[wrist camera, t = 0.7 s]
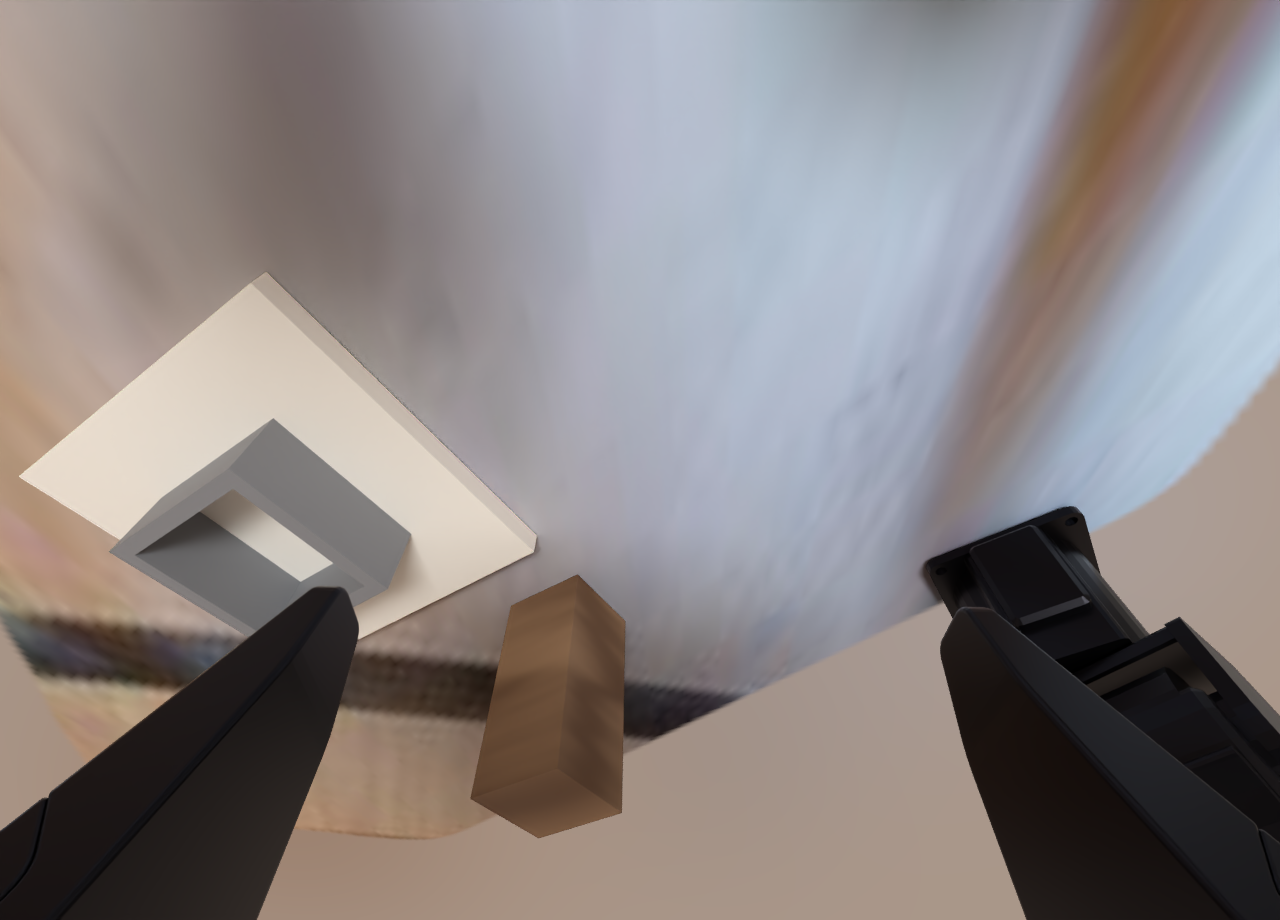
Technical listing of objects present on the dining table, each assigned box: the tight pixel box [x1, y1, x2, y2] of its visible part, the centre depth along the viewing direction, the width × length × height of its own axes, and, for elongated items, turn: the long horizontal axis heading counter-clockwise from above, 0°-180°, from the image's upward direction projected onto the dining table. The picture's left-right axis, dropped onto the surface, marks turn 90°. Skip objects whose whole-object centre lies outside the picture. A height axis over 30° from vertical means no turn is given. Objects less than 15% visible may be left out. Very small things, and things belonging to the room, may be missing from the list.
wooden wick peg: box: [471, 575, 625, 838], centre depth 26 cm, size 4×4×9 cm
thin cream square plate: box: [19, 272, 537, 639], centre depth 24 cm, size 14×14×4 cm
